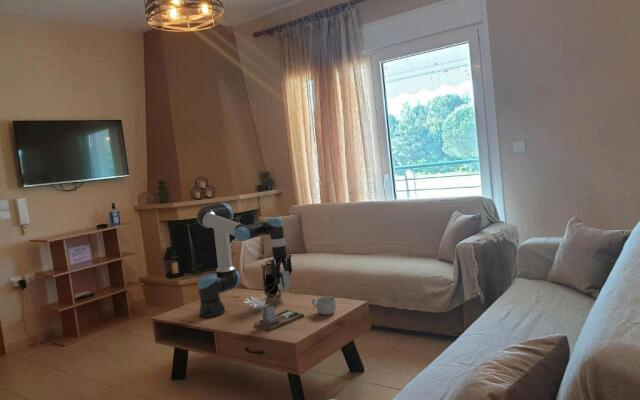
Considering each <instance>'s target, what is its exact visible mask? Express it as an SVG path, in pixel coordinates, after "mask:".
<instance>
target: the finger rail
mask: <svg viewBox="0 0 640 400" xmlns="http://www.w3.org/2000/svg"><path fill="white" fill-rule="evenodd" d="M265 304H266V303H265ZM265 304H264V305H261V306H260V309H261V316H262V319H261V320H259V321H257V322H255V323H253V324H254V326H255V327H256V328H259V329H263V330H266V331H268V332H272V331H273V330H276V329H279V328H280V327H284V326H286V325H288V324H291V323H294V322H295V321H297V320H300V319H302V318H305V314H304V313H301V312H297V311H293V310H290V309H285V310H283V311H280V312H279V313H277V314H276V313H275V308H274V306H272V305H268V304H266V305H265Z"/></svg>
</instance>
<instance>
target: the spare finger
mask: <svg viewBox="0 0 640 400" xmlns="http://www.w3.org/2000/svg"><path fill="white" fill-rule="evenodd" d="M280 277H281V280H282V287H283V289H282V290H287V289H291V288H292V286H291V285H292V284H291V276H290V277H289V271H284V269H283V270H280Z"/></svg>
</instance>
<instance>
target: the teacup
mask: <svg viewBox="0 0 640 400" xmlns="http://www.w3.org/2000/svg"><path fill="white" fill-rule="evenodd" d="M311 303H312V305H313V307H315V308H316V310H317V312H318V314H321V315H322V316H329V315H332V314H333V313H334V312H335V311H336V309H337V303H336V297H334V296H333V295H326V296H320V297H318V298H313V299H312V302H311Z"/></svg>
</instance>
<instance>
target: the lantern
mask: <svg viewBox="0 0 640 400" xmlns="http://www.w3.org/2000/svg"><path fill="white" fill-rule="evenodd" d="M263 262H264V264H261V265H260V267H261V268H262V271H261V274H262V275H261V277H262V287H263V291H264V292H263V293H264V294H265V296H266V297H265V304H264V305H266V304H268V305H272V306H274V309H276V308H279V307H282V306H283V305H285V302H284V300H283V299H282V289H279V287H278V283H277V280H276V277H273V275H272V269H271V264H270V262H269V260H268V259H266V260H265V261H263Z"/></svg>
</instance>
